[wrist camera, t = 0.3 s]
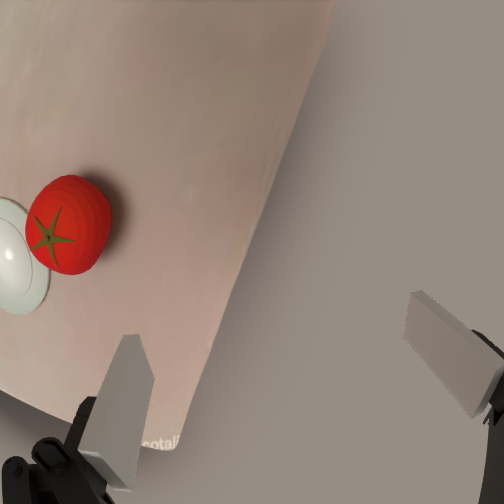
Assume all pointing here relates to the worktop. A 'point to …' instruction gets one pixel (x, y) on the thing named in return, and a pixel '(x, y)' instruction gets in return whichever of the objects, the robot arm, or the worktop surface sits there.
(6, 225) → the plate
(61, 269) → the tomato
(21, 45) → the worktop surface
